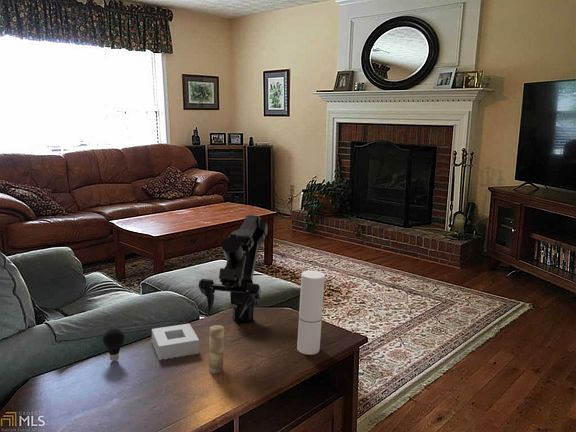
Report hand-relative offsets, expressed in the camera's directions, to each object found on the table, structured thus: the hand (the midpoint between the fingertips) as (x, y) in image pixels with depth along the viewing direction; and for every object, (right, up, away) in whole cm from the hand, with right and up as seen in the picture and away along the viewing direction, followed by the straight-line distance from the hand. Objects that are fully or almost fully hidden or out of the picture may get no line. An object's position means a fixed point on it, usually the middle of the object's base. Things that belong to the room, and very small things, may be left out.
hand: (224, 315), depth 142 cm
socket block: (-16, -11, +6) cm, 21 cm away
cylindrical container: (+25, -13, +10) cm, 30 cm away
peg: (-2, -15, -5) cm, 16 cm away
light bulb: (-32, -13, -3) cm, 34 cm away
